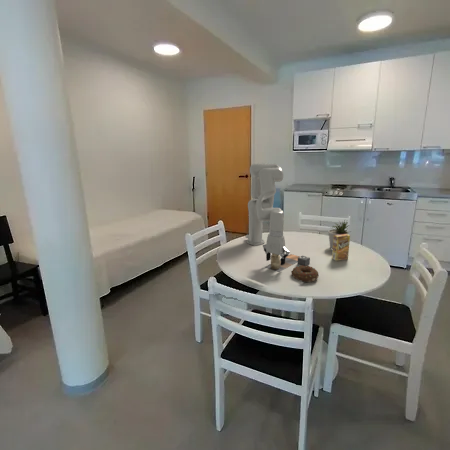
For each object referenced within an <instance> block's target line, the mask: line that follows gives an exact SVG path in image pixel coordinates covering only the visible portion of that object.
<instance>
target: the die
mask: <svg viewBox="0 0 450 450" xmlns="http://www.w3.org/2000/svg"><path fill="white" fill-rule="evenodd" d="M310 261H311V257H309V256H305V255H301V256H300V257H299V258H298V262H297V266H309V265H310V264H311V263H310Z"/></svg>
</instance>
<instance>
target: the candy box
mask: <svg viewBox="0 0 450 450" xmlns="http://www.w3.org/2000/svg"><path fill="white" fill-rule="evenodd" d="M350 238H351V235H350V234H340V235H334V239H333V249H332V254H331V255H332V256H331V259H332V260H334V261H344V260H349V251H350V242H351V241H350V240H351V239H350Z"/></svg>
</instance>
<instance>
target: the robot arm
mask: <svg viewBox="0 0 450 450" xmlns="http://www.w3.org/2000/svg"><path fill="white" fill-rule="evenodd" d="M249 173H250V177H251V186H250V187H251V188H250V196H251V198H252V199H249V201H248V203H247V208H248V209H247V210H248V234H246V236H245V237H244V238H245V239H247V240H246V243H247V244H248V245H250V246H251V245H253V246H260V245H262V248H263V251H264V252H265V254H266V256H265V257H266V260H265V261H266V262H268V261H271V255H272V253H273V254H276V255H279V256H280V259H281V265H284V264H285V258H286V257H287V256H288V255H290V254H291V252H290V250H288V249H287V248H286V242H285V241H286V240H285V235H284V223H285V222H284V221H285V220H284V218H285V213H284V211H283V210H282V209H281V208H280V207H274V200H275V194H276V193H277V189H276V183H277V182H282V181H283V180H284V170H283V169H282V167H281V166H279V165H278V164H277V163H269V162H268V163H263V162H262V163H252V164H251V165H250V167H249ZM275 182H276V183H275ZM263 222H269V229H268V230H267V233H268V235H267V238H266V243H265V240H264V239H263Z"/></svg>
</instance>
